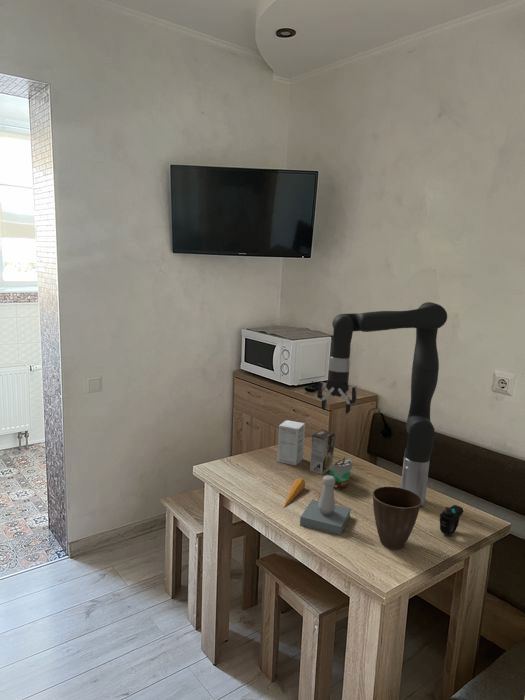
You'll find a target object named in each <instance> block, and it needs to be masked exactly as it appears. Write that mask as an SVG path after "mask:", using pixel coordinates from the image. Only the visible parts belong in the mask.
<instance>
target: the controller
mask: <svg viewBox="0 0 525 700" xmlns="http://www.w3.org/2000/svg"><path fill="white" fill-rule="evenodd" d="M463 514H464V508H463V507H461V506H459V505H456V504H453V505H452V506H450V507H448V506H446V507H445V509H444V510H443V511H442V512H440V514H439V530H440V531H441V533H442V534H444V535H446V536H449V535H450V536H453V535H454V533H456V531H457V528H458V526H459V522H460V518H461V516H462V515H463ZM452 534H453V535H452Z"/></svg>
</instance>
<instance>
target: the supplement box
mask: <svg viewBox="0 0 525 700" xmlns="http://www.w3.org/2000/svg"><path fill="white" fill-rule="evenodd" d="M305 430H306V423H304V422H298V421H294V420H288V419H287V420H284V421H283V422H282V423H280V424H279V426H278V434H277V435H278V436H277V438H278V439H277V454H276V455H277V456H276V461H278V462H279V463H282V464H288V465H292V466H297V465H299V464H300V463H301V462H302V461H303V460H304V454H305V453H304V450H305V434H306V431H305Z"/></svg>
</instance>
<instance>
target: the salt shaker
mask: <svg viewBox="0 0 525 700" xmlns="http://www.w3.org/2000/svg"><path fill="white" fill-rule="evenodd" d="M322 484H323V486H322V489H321V490H322V491H321V494H320V496H319V497H320V498H319V500H318V501H319V504H318V507H319V510H320V512H321V513H322V514H323V515H331V514H332V513H333V511H334V510H335V505H336V502H335V500H336V499H335V491H334V490H335V489H333V485H334V484H335V478H334V477H333V476H330V474H326V475H324V476H323V477H322Z"/></svg>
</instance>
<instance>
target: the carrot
mask: <svg viewBox="0 0 525 700" xmlns="http://www.w3.org/2000/svg"><path fill="white" fill-rule="evenodd" d="M305 486H306V481H305V479H303V478H301V477H299V478H297V479H295V480H294V482H293V484H292V486H291V488H290V491H289V493H288V495H287V496H286V497H287V498H286V500H285V501H284V505H283V508H286V506H288V505H289V504H290V503H291V502H292V501H293V500H294V499H295V498H296V497H297V496H298V495H299V494H300V493H301V492H302V491H303V490H304V489H305Z"/></svg>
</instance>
